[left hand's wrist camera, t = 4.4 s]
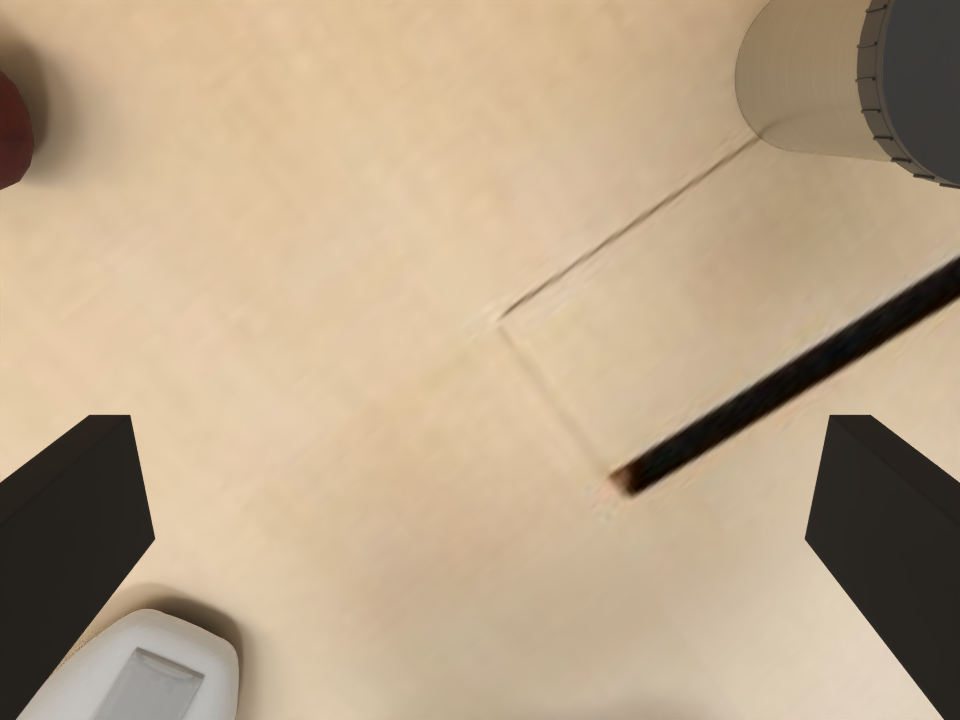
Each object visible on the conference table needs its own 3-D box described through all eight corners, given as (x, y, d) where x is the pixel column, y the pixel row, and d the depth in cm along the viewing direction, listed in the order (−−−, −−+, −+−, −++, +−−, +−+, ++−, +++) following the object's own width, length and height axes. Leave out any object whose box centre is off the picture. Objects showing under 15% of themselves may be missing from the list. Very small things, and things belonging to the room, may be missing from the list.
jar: (776, 182, 38) (946, 219, 24) (706, 45, 35) (850, -2, 22) (921, 90, 36) (1193, 74, 22) (858, -61, 34) (1119, -184, 20)
